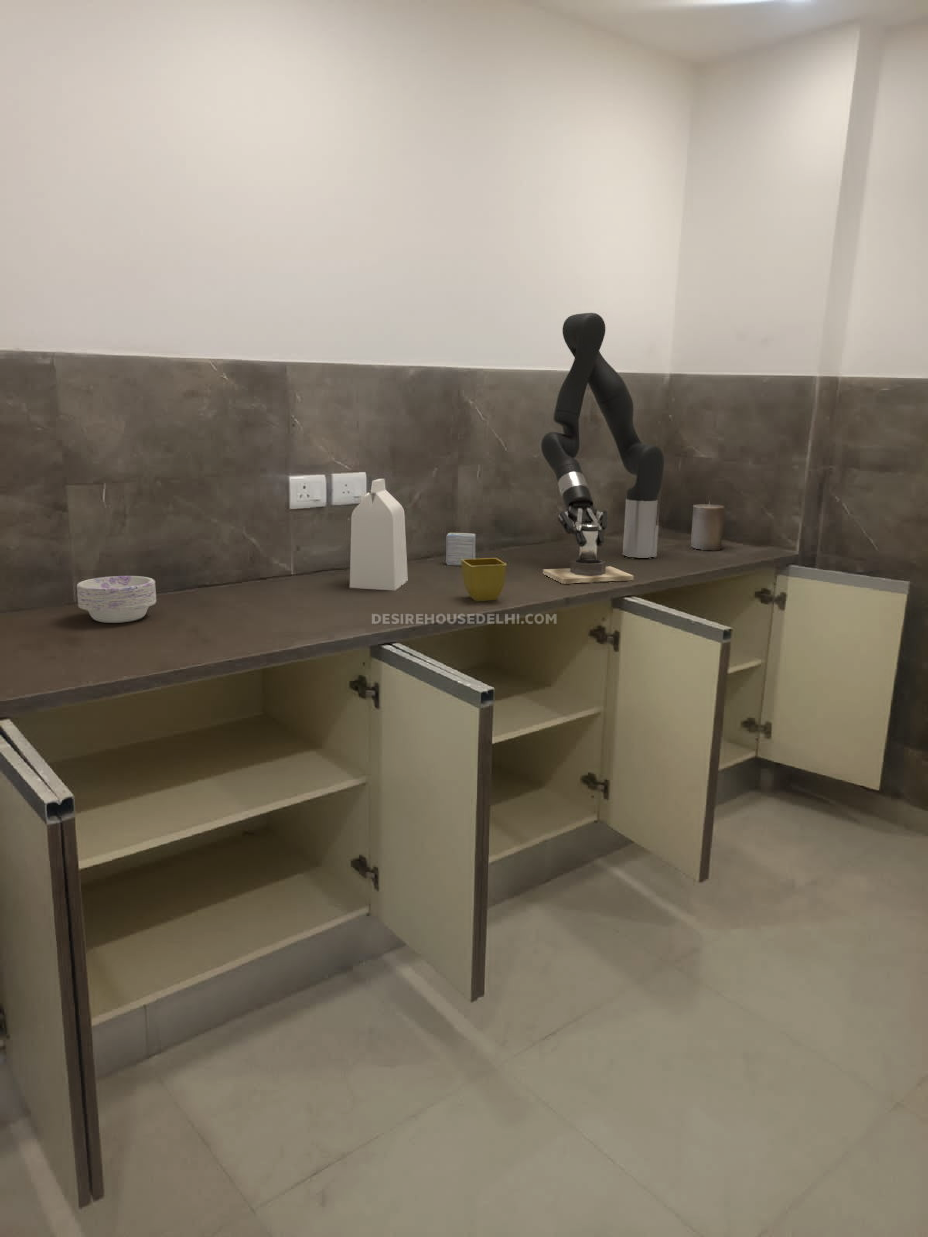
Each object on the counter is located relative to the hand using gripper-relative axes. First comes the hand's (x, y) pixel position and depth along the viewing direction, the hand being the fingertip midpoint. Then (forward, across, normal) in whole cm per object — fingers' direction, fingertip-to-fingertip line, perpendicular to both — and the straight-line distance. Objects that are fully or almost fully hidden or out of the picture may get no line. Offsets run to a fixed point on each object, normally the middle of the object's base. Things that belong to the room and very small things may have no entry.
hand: (591, 544), depth 229 cm
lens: (+2, 0, +4) cm, 4 cm away
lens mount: (+5, 0, +8) cm, 9 cm away
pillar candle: (-20, +58, +32) cm, 69 cm away
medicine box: (-13, -27, +27) cm, 40 cm away
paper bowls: (+17, -115, -2) cm, 116 cm away
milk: (+2, -55, +12) cm, 56 cm away
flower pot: (+18, -35, -4) cm, 39 cm away
